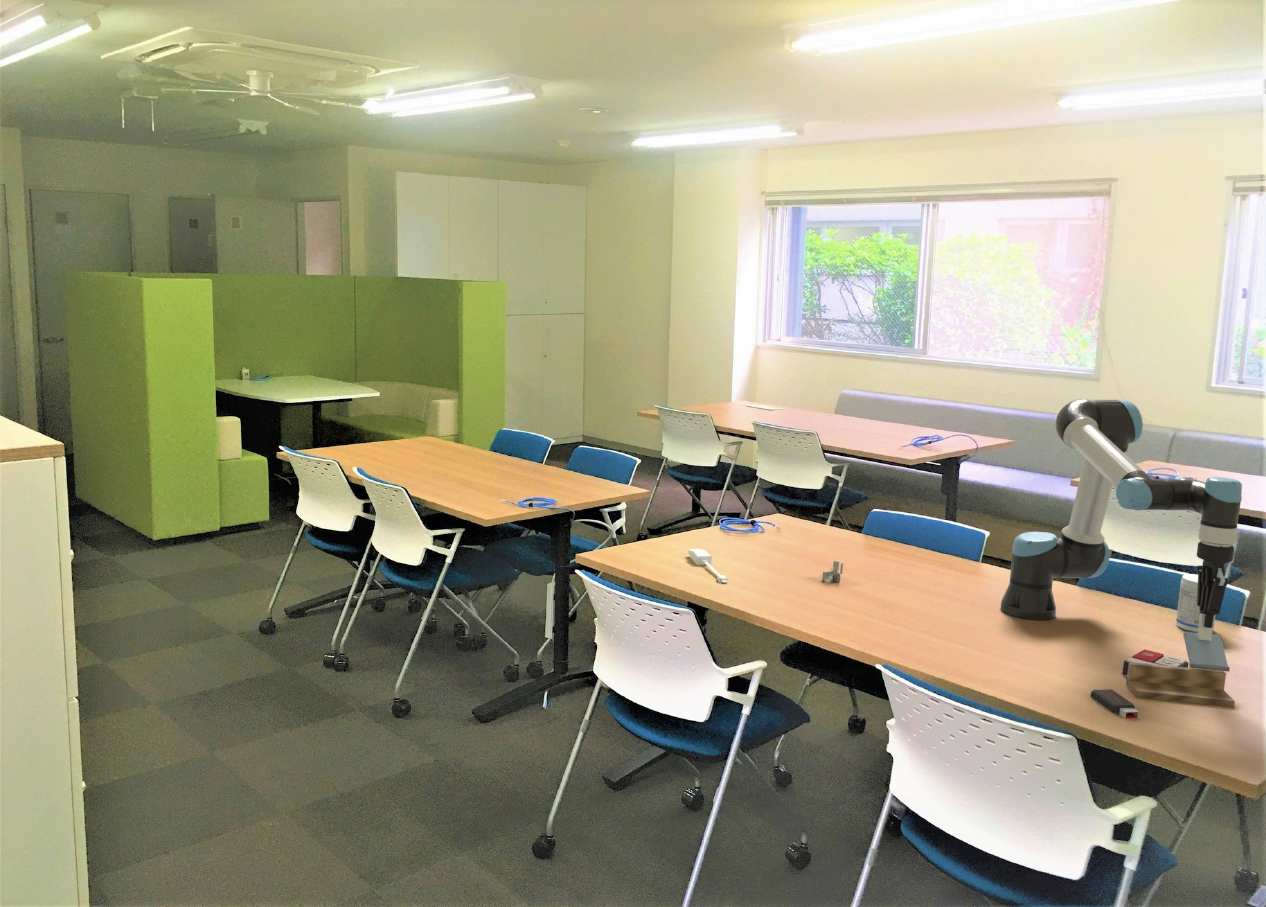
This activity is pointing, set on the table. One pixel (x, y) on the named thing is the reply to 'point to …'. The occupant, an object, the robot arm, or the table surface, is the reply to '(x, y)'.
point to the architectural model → (833, 573)
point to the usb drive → (1115, 703)
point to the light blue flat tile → (1205, 652)
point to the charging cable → (705, 562)
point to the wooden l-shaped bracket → (1178, 684)
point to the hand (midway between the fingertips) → (1204, 639)
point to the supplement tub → (1188, 604)
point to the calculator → (1154, 660)
